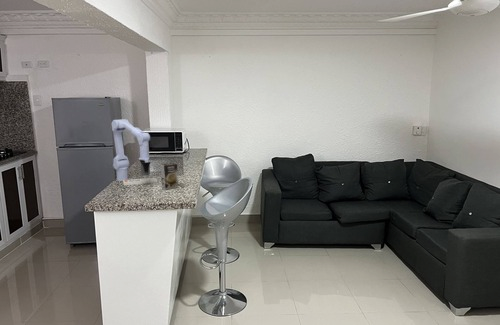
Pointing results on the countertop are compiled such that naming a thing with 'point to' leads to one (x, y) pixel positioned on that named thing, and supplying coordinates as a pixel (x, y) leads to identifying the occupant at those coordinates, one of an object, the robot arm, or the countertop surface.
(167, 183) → the coffee box
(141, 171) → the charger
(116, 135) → the robot arm
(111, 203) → the countertop surface
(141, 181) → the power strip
